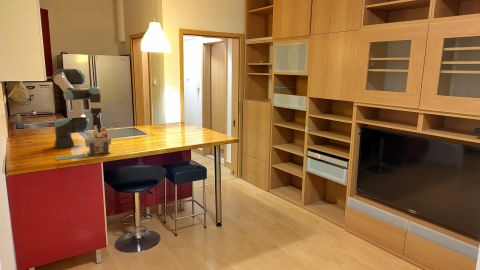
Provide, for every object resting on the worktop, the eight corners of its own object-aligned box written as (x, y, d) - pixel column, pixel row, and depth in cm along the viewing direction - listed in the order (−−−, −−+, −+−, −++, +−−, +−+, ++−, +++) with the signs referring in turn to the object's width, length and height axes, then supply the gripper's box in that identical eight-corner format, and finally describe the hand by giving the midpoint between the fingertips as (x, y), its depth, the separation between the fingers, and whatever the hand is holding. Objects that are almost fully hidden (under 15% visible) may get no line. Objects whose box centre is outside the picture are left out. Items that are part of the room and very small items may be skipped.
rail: (85, 146, 257) (85, 139, 256) (110, 143, 266) (109, 137, 265) (86, 147, 254) (85, 140, 253) (111, 144, 263) (110, 138, 262)
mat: (55, 157, 250) (55, 157, 250) (84, 154, 260) (84, 153, 260) (56, 160, 242) (56, 160, 242) (86, 157, 252) (86, 156, 252)
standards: (88, 154, 260) (87, 142, 259) (108, 151, 268) (107, 140, 266) (89, 156, 255) (88, 144, 253) (110, 153, 262) (109, 142, 260)
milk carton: (93, 149, 276) (92, 125, 272) (103, 147, 284) (102, 123, 280) (100, 150, 271) (98, 126, 267) (110, 148, 279) (108, 125, 275)
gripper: (88, 106, 263) (90, 133, 267) (93, 109, 242) (95, 138, 246) (98, 105, 266) (100, 132, 270) (104, 109, 246) (106, 137, 250)
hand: (98, 135), depth 258 cm, fingers open, 13 cm apart
